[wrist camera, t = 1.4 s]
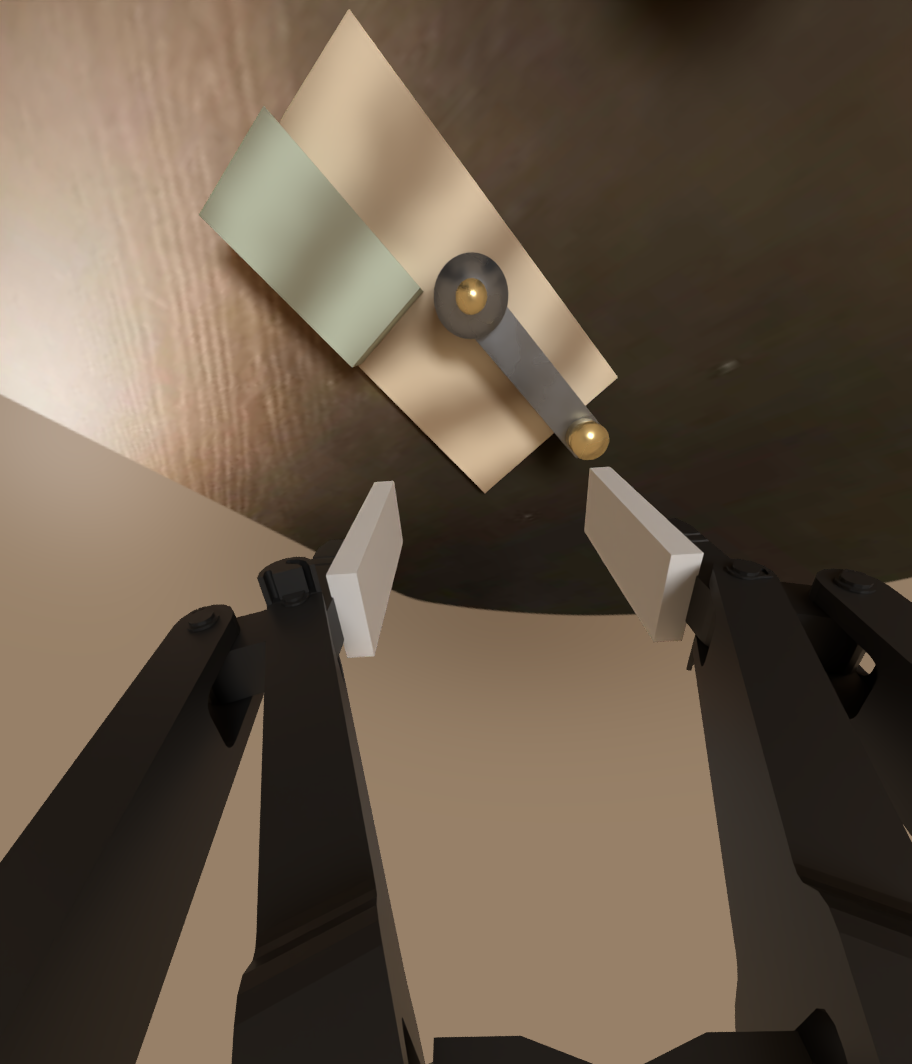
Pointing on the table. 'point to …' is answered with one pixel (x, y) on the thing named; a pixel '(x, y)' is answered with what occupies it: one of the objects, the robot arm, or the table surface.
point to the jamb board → (392, 254)
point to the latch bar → (513, 349)
